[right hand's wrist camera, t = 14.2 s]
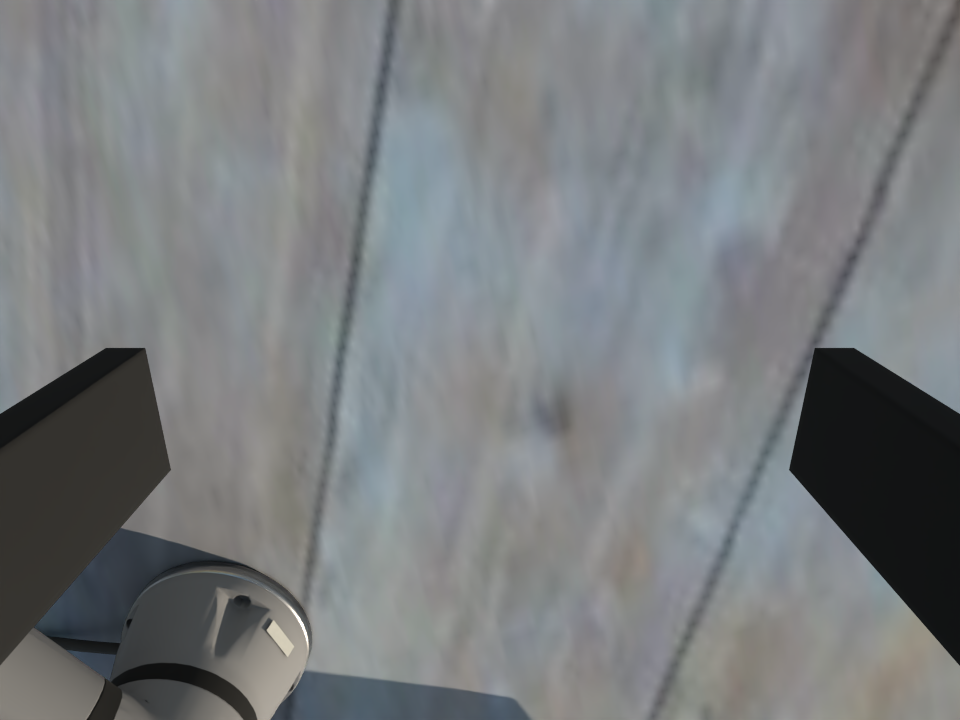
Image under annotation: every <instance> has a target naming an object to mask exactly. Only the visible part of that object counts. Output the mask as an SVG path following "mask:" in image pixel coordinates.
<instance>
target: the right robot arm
mask: <svg viewBox="0 0 960 720" xmlns="http://www.w3.org/2000/svg"><path fill="white" fill-rule="evenodd" d="M170 470H171V468H170V464H169V459H168V454H167V449H166V445H165V440H164V435H163V430H162V426H161V421H160V416H159V411H158V407H157V402H156V397H155V392H154V388H153V383H152V378H151V374H150V369H149V364H148V359H147V355H146V350H145V348H105V349H104V350H102V351H101V352H99V353H97V354H96V355H94V356H93V357H91V358H89V359H88V360H86V361H85V362H83V363H81V364H80V365H78V366H77V367H75V368H73V369H72V370H70V371H68V372H67V373H65V374H64V375H62V376H60V377H59V378H57V379H56V380H54V381H52V382H51V383H49V384H48V385H46V386H44V387H43V388H41V389H40V390H38V391H36V392H35V393H33V394H32V395H30V396H28V397H27V398H25V399H24V400H22V401H20V402H19V403H17V404H16V405H14V406H12V407H11V408H9V409H7V410H6V411H4V412H3V413H1V414H0V720H270V719H271V718H272V716H273V715H274V713H275V711H276V710H277V708H278V706H279V705H280V703H282V702H283V701H284V700H285V699H286V698H287V697H288V696H289V695H290V694H291V692H292V691H293V690H294V689H295V687H296V686H297V684H298V682H299V680H300V678H301V676H302V674H303V672H304V670H305V668H306V665H307V662H308V658H309V655H310V651H311V646H312V633H311V627H310V624H309V621H308V618H307V616H306V614H305V612H304V610H303V608H302V607H301V606H300V604H299V603H298V601H297V600H296V599H295V598H294V597H293V596H292V595H291V594H290V593H289V592H288V591H287V590H286V589H285V588H284V587H283V586H281V585H280V584H279V583H277V582H276V581H274V580H273V579H271V578H269V577H267V576H266V575H264V574H262V573H259V572H257V571H255V570H252V569H250V568H247V567H243V566H240V565H235V564H231V563H224V562H195V563H189V564H184V565H181V566H177V567H175V568H172V569H170V570H168V571H166V572H164V573H162V574H160V575H159V576H157V577H156V578H155V579H153V580H152V581H151V582H150V583H149V584H148V585H147V586H146V587H145V588H144V590H143V591H142V592H141V594H140V595H139V597H138V598H137V600H136V601H135V602H134V604H133V606H132V608H131V609H130V612H129V614H128V616H127V618H126V620H125V623H124V626H123V630H122V635H121V643H110V642H97V641H86V640H76V639H68V638H59V637H48V636H45V635H44V634H43V633H41V632H40V631H38V630H37V629H36V628H34V626H35V625H36V624H37V623H38V622H39V620H40V619H41V618H42V617H43V616H44V615H45V614H46V612H47V611H48V610H49V609H50V608H51V607H52V606H53V604H54V603H55V602H56V601H57V600H58V599H59V598H60V596H61V595H62V594H63V593H64V592H65V591H66V590H67V588H68V587H69V586H70V585H71V584H72V583H73V581H74V580H75V579H76V578H77V577H78V576H79V575H80V573H81V572H82V571H83V570H84V569H85V568H86V567H87V565H88V564H89V563H90V562H91V561H92V560H93V559H94V557H95V556H96V555H97V554H98V553H99V552H100V551H101V549H102V548H103V547H104V546H105V545H106V544H107V542H108V541H109V540H110V539H111V538H112V537H113V536H114V534H115V533H116V532H117V531H118V530H119V529H120V528H121V526H122V525H123V524H124V523H125V522H126V521H127V520H128V518H129V517H130V516H131V515H132V514H133V513H134V511H135V510H136V509H137V508H138V507H139V506H140V505H141V503H142V502H143V501H144V500H145V499H146V498H147V497H148V495H149V494H150V493H151V492H152V491H153V490H154V489H155V487H156V486H157V485H158V484H159V483H160V482H161V481H162V479H163V478H164V477H165V476H166V475H167V474H168V472H169V471H170ZM789 470H790V471H791V472H792V474H793V475H794V476H795V477H796V478H797V479H798V481H799V482H800V483H801V484H802V485H803V486H804V487H805V489H806V490H807V491H808V492H809V493H810V494H811V495H812V497H813V498H814V499H815V500H816V501H817V502H818V503H819V505H820V506H821V507H822V508H823V509H824V510H825V512H826V513H827V514H828V515H829V516H830V517H831V518H832V520H833V521H834V522H835V523H836V524H837V525H838V526H839V528H840V529H841V530H842V531H843V532H844V533H845V534H846V536H847V537H848V538H849V539H850V540H851V541H852V542H853V544H854V545H855V546H856V547H857V548H858V549H859V551H860V552H861V553H862V554H863V555H864V556H865V557H866V559H867V560H868V561H869V562H870V563H871V564H872V565H873V567H874V568H875V569H876V570H877V571H878V572H879V573H880V575H881V576H882V577H883V578H884V579H885V580H886V581H887V583H888V584H889V585H890V586H891V587H892V588H893V590H894V591H895V592H896V593H897V594H898V595H899V596H900V598H901V599H902V600H903V601H904V602H905V603H906V604H907V606H908V607H909V608H910V609H911V610H912V611H913V612H914V614H915V615H916V616H917V617H918V618H919V619H920V620H921V622H922V623H923V624H924V625H925V626H926V627H927V629H928V630H929V631H930V632H931V633H932V634H933V635H934V637H935V638H936V639H937V640H938V641H939V642H940V643H941V645H942V646H943V647H944V648H945V649H946V650H947V651H948V653H949V654H950V655H951V656H952V657H953V658H954V659H955V661H956V662H957V663H958V664H959V665H960V414H959V413H957V412H956V411H954V410H953V409H951V408H949V407H948V406H946V405H944V404H943V403H941V402H940V401H938V400H936V399H935V398H933V397H932V396H930V395H928V394H927V393H925V392H924V391H922V390H920V389H919V388H917V387H916V386H914V385H912V384H911V383H909V382H908V381H906V380H904V379H903V378H901V377H900V376H898V375H896V374H895V373H893V372H892V371H890V370H888V369H887V368H885V367H883V366H882V365H880V364H879V363H877V362H875V361H874V360H872V359H871V358H869V357H867V356H866V355H864V354H863V353H861V352H859V351H858V350H856V349H855V348H815V350H814V354H813V359H812V364H811V369H810V373H809V378H808V383H807V388H806V392H805V397H804V402H803V407H802V411H801V416H800V421H799V426H798V430H797V435H796V440H795V445H794V449H793V454H792V459H791V464H790V468H789ZM66 650H72V651H81V652H91V653H103V654H115V655H116V658H115V662H114V666H113V670H112V674H111V677H110V681H108V680H107V679H105V678H104V677H103V676H101V675H100V674H98V673H97V672H96V671H94V670H93V669H91V668H90V667H89V666H87V665H86V664H84V663H83V662H82V661H80V660H79V659H77V658H76V657H75V656H73V655H72V654H70V653H69V652H68V651H66Z"/></svg>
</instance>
